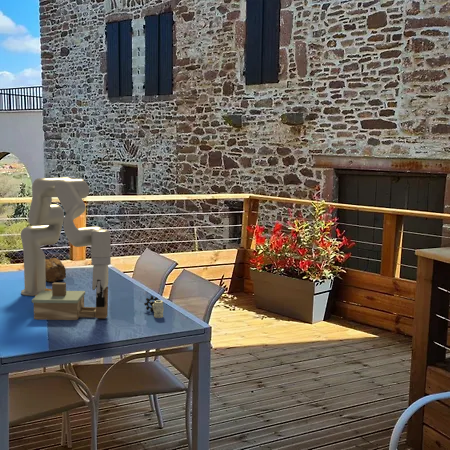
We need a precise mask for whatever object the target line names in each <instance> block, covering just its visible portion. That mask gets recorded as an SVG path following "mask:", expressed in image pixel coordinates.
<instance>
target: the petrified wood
mask: <svg viewBox="0 0 450 450" xmlns="http://www.w3.org/2000/svg"><path fill="white" fill-rule="evenodd" d="M45 267H46V282H50V283H57V281H62V280H65V279H66V277H67V273H66V271H67V270H66V266H65V265H64V264H63V263H62V261H61V260H60V259H59V258H57V257H51V258H45Z"/></svg>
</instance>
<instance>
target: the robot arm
mask: <svg viewBox="0 0 450 450" xmlns="http://www.w3.org/2000/svg"><path fill="white" fill-rule="evenodd" d="M31 191H32V193H31V194H32V198H31V203H30V206H29V211H28V218H27V219H28V223H29V224H30V225H29V226H26V227H24V228H23V229H22V230H21V231H20V232H21V233H20V239H21V244H22V252H23V271H24V272H23V276H24V277H23V279H24V282H23V283H24V288H23V289H22V290H21V291H20V294H21V295H22V296H26V297H28V296H29V297H35V295H38V294H39V293H40V292H41V291H45V289H49V288H47V283H46V282H47V281H46V267H45V259H46V255H45V252H44V250H43V249H42V248H41V246H42V247H43V246H48V245H54V244H56V243H58V242H59V239H60V237H61V233H62V229H63V232H64V234H65V237H66V238H67V239H68V242H69V244H71V245H72V246H74V247H76V248H81V247H90V246H91V247H90V248H91V249H90V252H91V253H90V254H91V255H90V256H91V258H90V259H91V260H90V261H91V265H92V281H91V282H92V285H91V286H92V288H91V289H92V290H93V291H96V292H95V307H104V306H105V297H104V290H105V289H106V287H109V286H108V285H109V266H110V265H111V264H112V263H111V262H112V261H111V256H112V255H111V253H112V251H111V231H110V230H109V229H104V228H102V227H100V226H85V227H77V226H76V224H75V223H74V220H75V219H77V218H78V217H80V216H81V215H83V214H84V213H85V211H86V208H87V206H86V203H85V202H84V199H85V198H87V197H88V196H89V193H90V187H89V185H88V183H87V182H86V181H85V180H84V179H82V178H75V177H41V178H40V177H38V178H36V179H34V180H33V182H32V187H31ZM53 198H57V199H58V200H59V202H60V204H61V205H59V204H54V203H53V202H52V201H53ZM52 203H53V204H52ZM101 288H102V289H101ZM101 291H102V292H101Z"/></svg>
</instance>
